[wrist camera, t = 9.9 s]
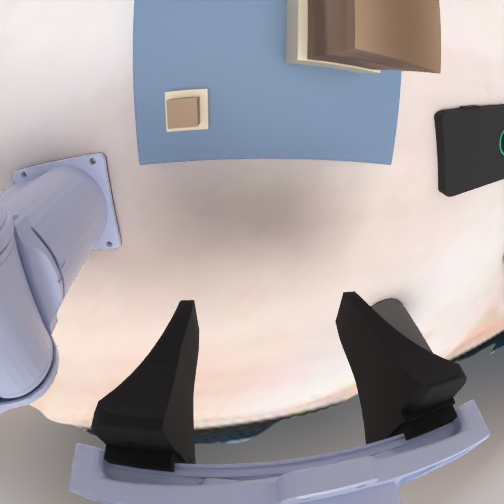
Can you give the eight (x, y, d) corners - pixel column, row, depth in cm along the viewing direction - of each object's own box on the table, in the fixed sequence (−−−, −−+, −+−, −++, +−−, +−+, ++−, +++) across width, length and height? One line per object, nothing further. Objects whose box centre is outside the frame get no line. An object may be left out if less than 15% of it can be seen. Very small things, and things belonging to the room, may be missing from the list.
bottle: (388, 290, 29) (455, 406, 16) (410, 309, 31) (467, 409, 18) (349, 324, 31) (397, 442, 18) (375, 339, 33) (420, 441, 20)
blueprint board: (145, 159, 19) (126, 180, 15) (144, -41, 10) (126, -66, 6) (381, 159, 21) (414, 179, 17) (389, -21, 12) (423, -34, 8)
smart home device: (542, 166, 20) (445, 201, 22) (533, 161, 22) (435, 193, 23) (543, 104, 16) (442, 112, 17) (533, 101, 17) (429, 108, 19)
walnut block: (307, 59, 13) (355, 48, 8) (307, -4, 10) (352, -41, 5) (373, 69, 13) (440, 73, 8) (373, 10, 11) (438, -8, 6)
